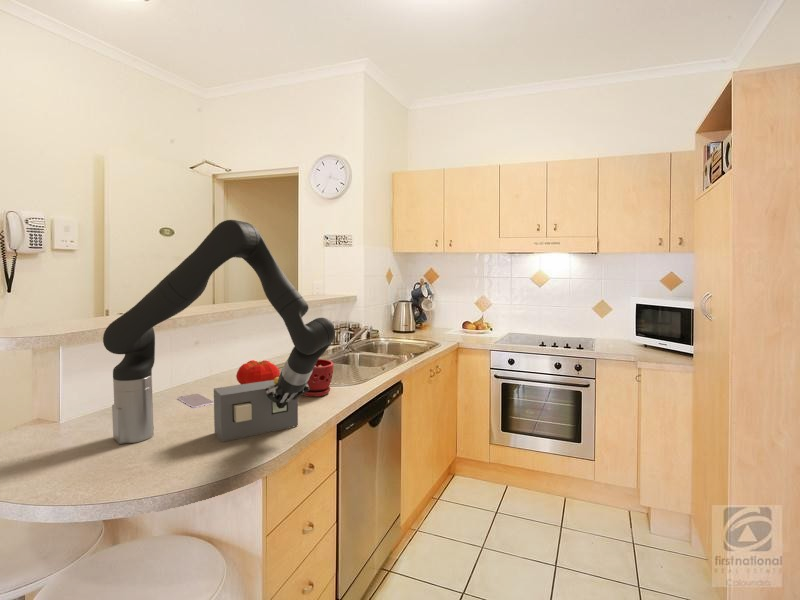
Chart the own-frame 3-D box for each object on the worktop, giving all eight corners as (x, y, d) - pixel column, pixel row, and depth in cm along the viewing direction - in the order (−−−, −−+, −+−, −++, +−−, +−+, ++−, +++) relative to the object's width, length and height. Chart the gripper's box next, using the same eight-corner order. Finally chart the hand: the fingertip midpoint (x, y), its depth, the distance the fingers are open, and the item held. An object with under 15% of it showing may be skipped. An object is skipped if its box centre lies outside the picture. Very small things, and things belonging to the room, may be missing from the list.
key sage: (286, 410, 136) (286, 396, 135) (272, 412, 133) (272, 398, 133) (281, 406, 139) (281, 393, 139) (268, 409, 137) (267, 395, 136)
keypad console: (297, 426, 138) (297, 375, 137) (221, 441, 125) (220, 386, 124) (287, 418, 144) (287, 370, 143) (214, 432, 132) (213, 380, 130)
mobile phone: (193, 406, 153) (176, 396, 163) (193, 409, 153) (176, 399, 163) (215, 401, 158) (197, 392, 169) (215, 404, 158) (197, 395, 169)
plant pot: (297, 399, 164) (297, 366, 163) (297, 389, 177) (297, 358, 175) (334, 397, 167) (334, 365, 166) (331, 387, 179) (331, 357, 178)
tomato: (286, 386, 181) (286, 361, 180) (247, 394, 169) (246, 368, 168) (268, 379, 191) (268, 356, 190) (230, 386, 179) (229, 361, 178)
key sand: (251, 419, 128) (251, 404, 127) (236, 422, 125) (236, 407, 125) (247, 415, 131) (247, 401, 130) (232, 418, 128) (231, 403, 128)
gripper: (314, 358, 129) (297, 391, 140) (268, 364, 121) (254, 398, 132) (323, 381, 125) (305, 412, 136) (275, 388, 117) (260, 421, 128)
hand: (280, 405), depth 134 cm, fingers closed
